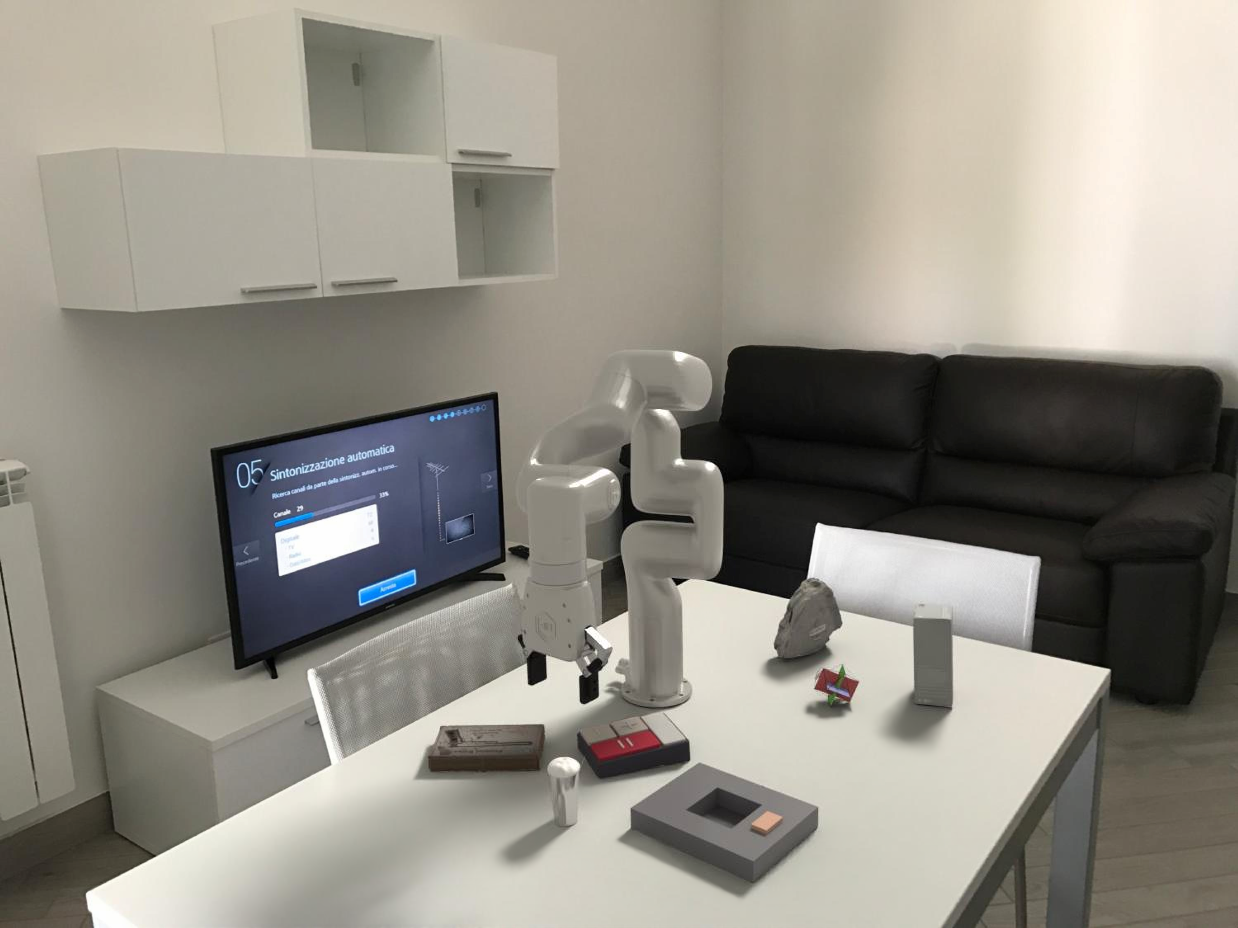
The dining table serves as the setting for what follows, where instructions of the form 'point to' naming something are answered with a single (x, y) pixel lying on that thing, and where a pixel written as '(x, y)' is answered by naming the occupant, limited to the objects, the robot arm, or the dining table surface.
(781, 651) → the decorative rock
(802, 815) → the socket plate
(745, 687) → the dining table surface
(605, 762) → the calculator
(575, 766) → the milkshake
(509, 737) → the box
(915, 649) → the skincare box
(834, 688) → the geometric puzzle
